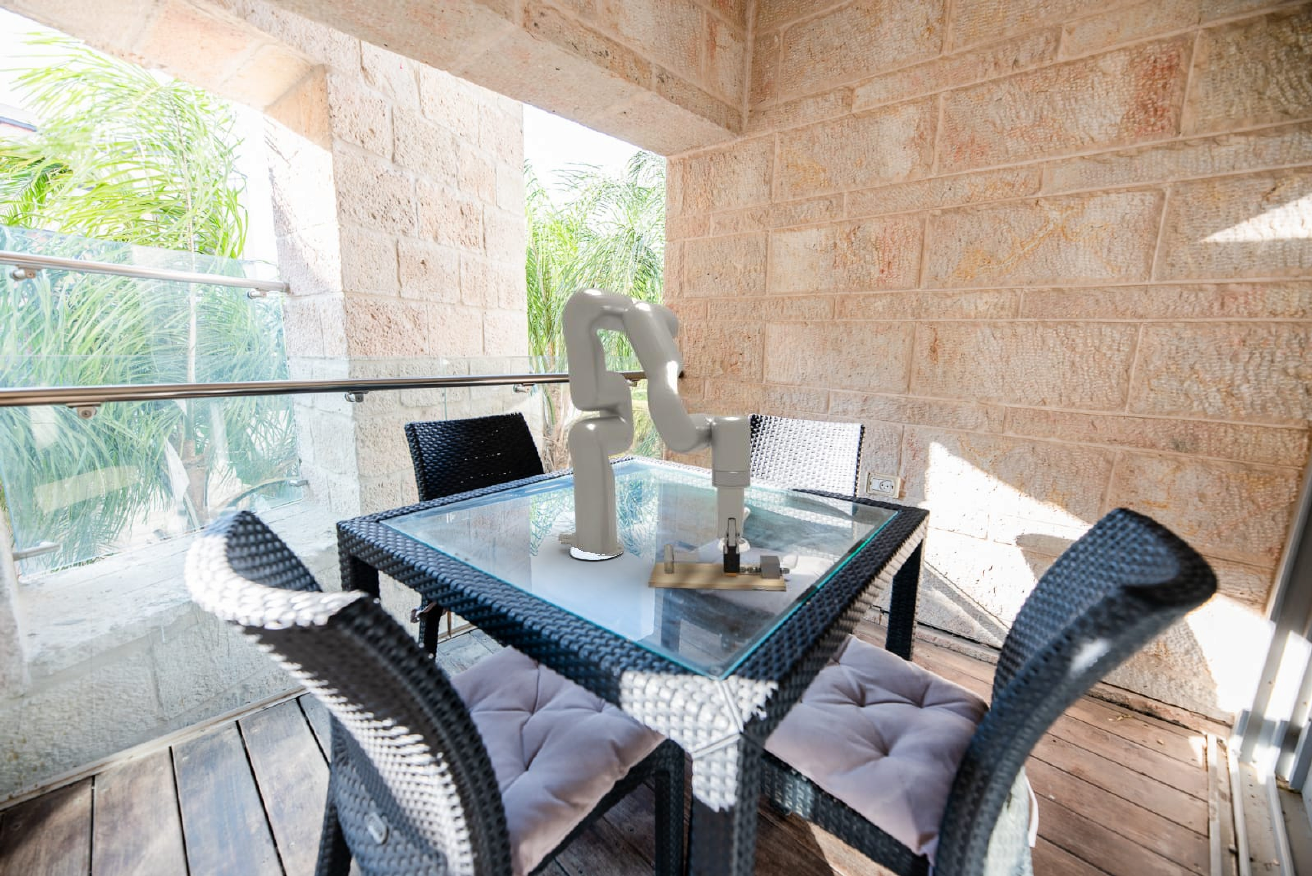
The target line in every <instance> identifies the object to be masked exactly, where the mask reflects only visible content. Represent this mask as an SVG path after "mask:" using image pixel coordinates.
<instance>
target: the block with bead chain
mask: <svg viewBox="0 0 1312 876" xmlns="http://www.w3.org/2000/svg"><path fill="white" fill-rule="evenodd" d="M727 543H729V541H727ZM735 543H736V541H735ZM746 571H747V572H748V573H760V572H761V569H760V568H759V567H748V568H747V569H746V567H740V573H745V572H746ZM790 572H791V570H790V568H788V567H780V574H782V575H788V574H790ZM726 574H727V576H737V573H726Z"/></svg>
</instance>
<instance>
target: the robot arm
mask: <svg viewBox="0 0 1312 876" xmlns="http://www.w3.org/2000/svg"><path fill="white" fill-rule="evenodd" d="M561 325H562V326H561V327H562V333H563V337H564V342H565V348H566V355H567V356H566V357H567V358H566V359H567V370H568V383H569V392H570V393H569V395H570V400H571V403H572V405H573V406H574V408H575V409H577V410H578V411H580V412H586V413H587V412H589V413H590V412H599V416H595V417H588V418H583V419H580V420H578V421H577V422H575V423H574V424H573V425H572V426H571V428H570V430H569V431H568V435H567V446H568V447H567V448H568V452H569V456H570V460H571V465H572V476H573V477H572V478H573V492H574V493H573V494H574V499H573V500H574V523H575V525H574V526H575V527H574V528H575V532H574V533H572V534H568V533H566V534H565V533H560V534H559V535H558V542H559V541H561V542H560V545H570V547H574V548H578V549H579V550H581V551H583V552H590V553H595V554H600V555H598V556H615V555H618V554H620V553H621V552H623V553H624V551H623V550H625V549H624V548H625V546H624V544H623V543H621V542H619V541H617V539H618V538H617V536H618V533H617V503H616V502H617V501H616V499H617V497H616V477H615V471H614V467H613V466H612V464H611V460H610V458H609V457H612V456H617V455H621V454H623V453H625V452H627V451H629V449H630V448H631V447H632V445H633V442H634V438H635V426H634V425H635V424H634V412H633V411H634V410H633V401H632V400H633V398H632V390H631V387H630V384H629V382H628V380H627V379H626V377H625V376H624V375H623V374H621V373H620V372H619V371H614V370H608V369H607V365H606V353H605V349H604V345H603V342H602V340H601V337H600V336H599V334H598V330H606V331H612V332H613V331H614V332H618V333H619V332H620V333H623V334H625V335H626V337H627V340H628V341H629V344H630V345H631V346H630V347H632V350H633V352H634V355H635V356H636V358H637V360H638V362H639V365H640V366H641V369H642V371H643V373H644V374H645V375H644V376H645V377H646V379H647V380H646V381H647V388H646V395H647V397H646V398H647V405H648V406H647V407H648V412H649V415H650V417H651V420H652V422H653V424H654V427H655V428H656V430H657V432H658V435H659V437H660V438H661V441H662V442H663V443H664V445H665V446H666V447H667V448H668V449H669V450H671V451H672V452H673V453H676V454H678V455H679V454H680V455H686V454H691V453H695V452H699V451H704V450H708V449H711V486H712V487H713V488H715V489H716V488H717V489H716V538H718V539H719V540H721V538H724V545H723V551H722V557H723V558H722V559H723V560H722V564H723V571H724V573H740V564H741V552H740V553H739V545H740V544H739V539H741V538H743V534H744V523H745V520H744V508H745V489H747V488H749V487H751V485H752V484H751V483H752V482H751V463H752V462H751V420H750V418H749V417H748V416H746V415H742V414H723V415H716V414H711V413H706V412H701V413H700V412H698V413H688V411H687V409H686V407H685V406H684V403H683V401H682V399H681V396H680V392H679V388H678V380H679V376H680V374H681V373H682V371H683V370H684V368H685V359H684V357H683V356H682V353H681V352H680V349H679V348H678V346H677V343H676V342H675V339H676V337H677V335H678V333H679V330H680V323H679V320H678V317H677V314H676V313H675V311H673V310H672V308H670V307H668V306H665V305H662V304H657V303H652V302H650V301H648V300H647V301H646V300H644V299H640V298H636V297H634V296H631V295H628V294H623V293H619V292H615V291H611V290H608V289H603V288H600V287H585V288H581V289H579V290H577V291H576V292H574V293H573V294H572V295H570V297H569V299H567V301H566V303H565V306H564V307H563V312H562V318H561ZM727 541H729V543H727ZM735 541H736V543H735ZM602 554H605V555H602Z"/></svg>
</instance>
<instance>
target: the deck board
mask: <svg viewBox="0 0 1312 876" xmlns="http://www.w3.org/2000/svg"><path fill="white" fill-rule="evenodd" d="M740 567H746V569H747V568H748V567H759V568H760V564H741V563H740ZM648 580H649V581H648V587H649V588H668V589H669V588H671V589H672V588H673V589H675V588H676V589H677V588H678V589H703V590H704V589H706V590H739V591H741V590H742V591H754V590H753V589H758V588H764V589H766V590H778V591H777V592H780V591H779V590H786V591H787V584H786V582H785V578H784V574H780V579H762V578H761V573H748V572H747V571H746V572H745V573H737V576H727V574H726V573H724V571H723V563H700V562H699V563H698V562H697V563H695V562H694V563H692V562H674V573H672V574H666V573H664V562H658V561H657V562H655V563H654V565H653V568H652V571H651V574H650V577H649V579H648ZM766 590H765V591H766Z"/></svg>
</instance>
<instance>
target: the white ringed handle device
mask: <svg viewBox="0 0 1312 876" xmlns="http://www.w3.org/2000/svg"><path fill="white" fill-rule="evenodd" d="M750 514H751V510H750V508H748V507H747V506H744V521H746V519H747V518H748V516H750ZM723 545H724V537H722V539H721V538H720V539H719V543H718V544H717V549H718V550H719V551H722V552H723ZM750 549H751V546H750V543H749V542H748V540H747V539H746V538H743V537H742V538H741V539H739V553H740V554H741V553H745V552H749V551H750Z"/></svg>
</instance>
